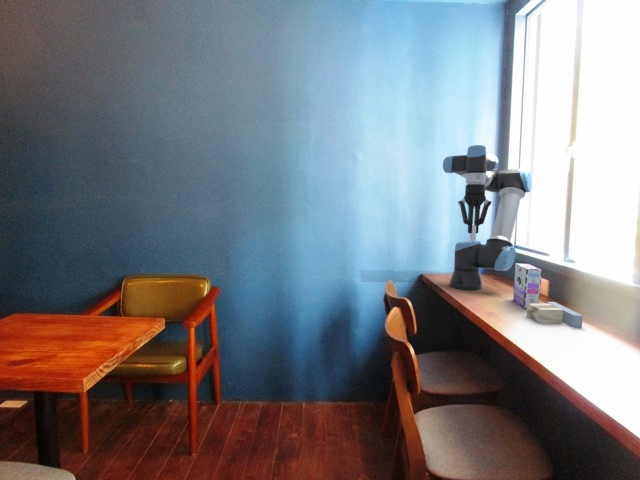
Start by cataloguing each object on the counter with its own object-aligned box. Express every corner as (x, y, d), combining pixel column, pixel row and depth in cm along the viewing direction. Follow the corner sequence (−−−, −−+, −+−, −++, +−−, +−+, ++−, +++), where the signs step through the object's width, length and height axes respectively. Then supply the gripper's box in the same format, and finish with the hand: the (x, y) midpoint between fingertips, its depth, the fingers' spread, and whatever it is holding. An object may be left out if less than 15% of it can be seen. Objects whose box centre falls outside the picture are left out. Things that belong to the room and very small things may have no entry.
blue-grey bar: (545, 311, 141) (546, 301, 140) (553, 311, 141) (554, 301, 140) (572, 326, 124) (573, 315, 123) (581, 326, 124) (582, 315, 123)
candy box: (539, 309, 144) (542, 269, 142) (523, 308, 145) (526, 268, 143) (527, 300, 157) (529, 263, 155) (512, 299, 158) (514, 262, 156)
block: (526, 316, 136) (527, 303, 135) (547, 316, 136) (548, 303, 135) (539, 323, 128) (540, 309, 127) (561, 323, 128) (563, 309, 127)
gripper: (462, 183, 144) (459, 241, 147) (495, 183, 143) (492, 242, 146) (456, 184, 151) (453, 239, 154) (488, 184, 151) (485, 240, 153)
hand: (472, 241), depth 150 cm, fingers closed
